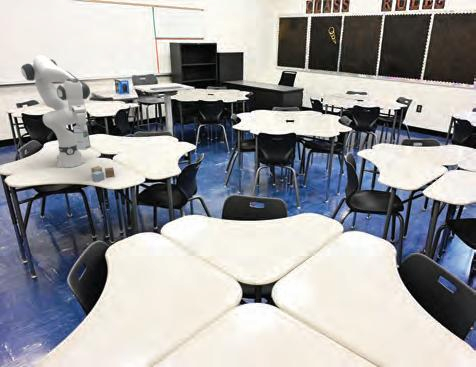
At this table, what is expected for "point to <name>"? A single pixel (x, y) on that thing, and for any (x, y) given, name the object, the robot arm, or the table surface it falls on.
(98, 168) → the maple cube
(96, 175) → the slate blue cube
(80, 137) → the syrup box
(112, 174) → the walnut cube
